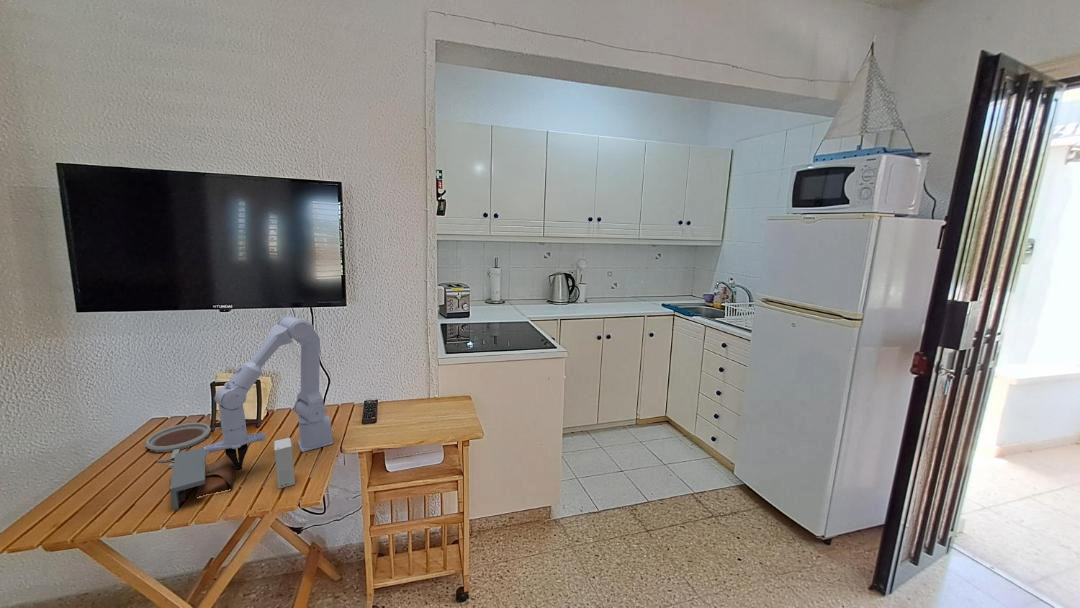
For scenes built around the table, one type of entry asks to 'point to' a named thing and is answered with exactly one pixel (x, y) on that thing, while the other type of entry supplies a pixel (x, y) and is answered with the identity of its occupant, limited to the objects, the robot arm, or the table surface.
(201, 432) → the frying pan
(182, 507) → the table surface
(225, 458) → the sunglasses case
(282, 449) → the skincare box
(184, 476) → the low shelf
